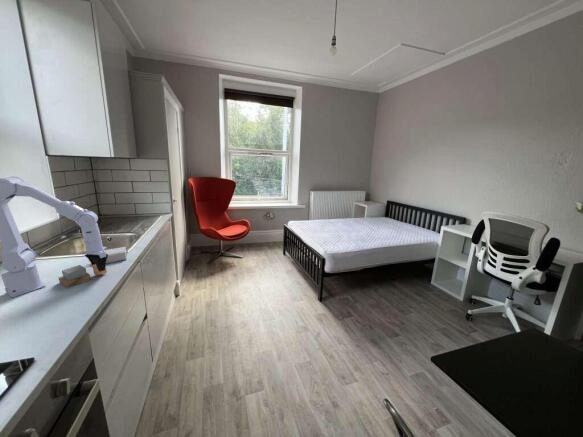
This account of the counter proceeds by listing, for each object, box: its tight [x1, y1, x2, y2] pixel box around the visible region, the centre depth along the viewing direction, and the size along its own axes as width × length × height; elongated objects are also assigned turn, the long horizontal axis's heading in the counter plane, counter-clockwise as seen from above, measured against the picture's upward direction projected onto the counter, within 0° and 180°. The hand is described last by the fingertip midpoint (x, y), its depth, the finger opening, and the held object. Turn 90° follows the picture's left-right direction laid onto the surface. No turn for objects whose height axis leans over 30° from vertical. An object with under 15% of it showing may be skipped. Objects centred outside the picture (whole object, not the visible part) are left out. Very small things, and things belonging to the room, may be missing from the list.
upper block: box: [61, 264, 88, 281], centre depth 101 cm, size 6×6×3 cm
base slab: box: [58, 272, 92, 289], centre depth 102 cm, size 8×8×3 cm
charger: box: [104, 246, 128, 265], centre depth 122 cm, size 5×9×15 cm
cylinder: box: [91, 264, 108, 276], centre depth 106 cm, size 4×4×4 cm
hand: (99, 269), depth 106 cm, fingers closed on cylinder, 4 cm apart
